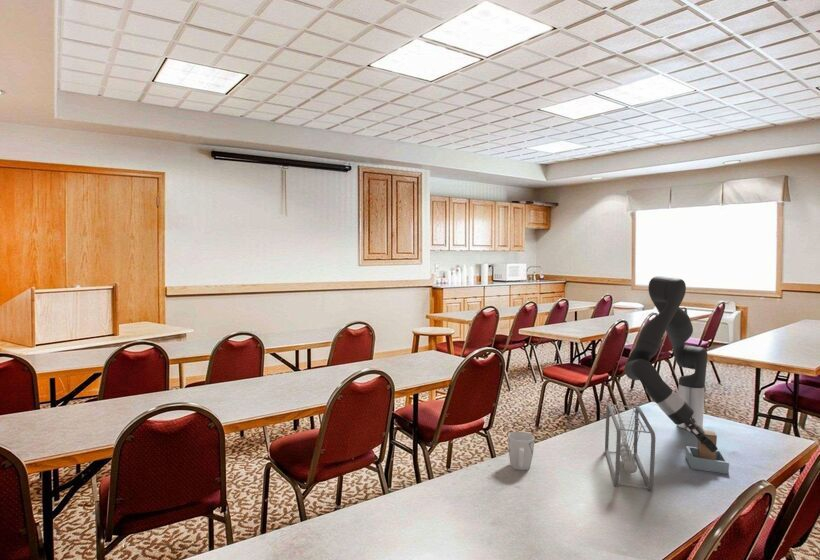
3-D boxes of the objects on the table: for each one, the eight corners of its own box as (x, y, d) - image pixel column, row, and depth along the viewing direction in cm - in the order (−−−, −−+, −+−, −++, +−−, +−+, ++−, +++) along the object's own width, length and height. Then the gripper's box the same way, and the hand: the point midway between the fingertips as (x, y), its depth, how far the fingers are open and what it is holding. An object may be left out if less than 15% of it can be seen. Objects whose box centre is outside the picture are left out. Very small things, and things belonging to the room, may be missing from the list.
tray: (685, 456, 171) (686, 446, 170) (720, 461, 167) (721, 450, 166) (690, 468, 161) (691, 457, 160) (728, 474, 157) (729, 463, 157)
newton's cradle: (604, 450, 175) (606, 401, 174) (636, 454, 172) (638, 404, 171) (614, 488, 146) (617, 429, 145) (653, 493, 143) (656, 433, 142)
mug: (534, 477, 152) (535, 445, 151) (506, 474, 153) (507, 443, 153) (533, 462, 163) (533, 432, 162) (507, 459, 165) (508, 430, 164)
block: (697, 455, 166) (698, 429, 166) (712, 457, 165) (713, 431, 164) (699, 460, 162) (701, 433, 162) (715, 462, 161) (716, 435, 160)
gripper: (687, 406, 159) (728, 449, 155) (680, 394, 172) (718, 434, 168) (668, 420, 161) (708, 462, 157) (662, 407, 174) (700, 446, 170)
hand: (713, 447), depth 163 cm, fingers closed on block, 4 cm apart
